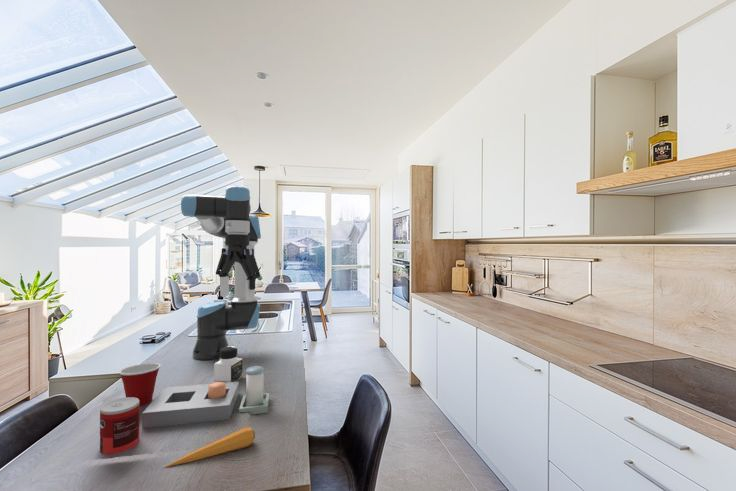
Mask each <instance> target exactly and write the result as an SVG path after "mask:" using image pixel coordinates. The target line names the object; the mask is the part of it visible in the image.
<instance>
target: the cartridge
mask: <svg viewBox="0 0 736 491" xmlns="http://www.w3.org/2000/svg"><path fill="white" fill-rule="evenodd" d="M264 370H265V368H264V367H263V366H260V365H254V366H253V365H252V366H250V367H247V368H246V370H245V374H246V378H245V380H246V384H245V385H246V389H245V391H246V392H245V393H246V394H245V395H246V400H245V407H250V406H261V405H263V393H264Z"/></svg>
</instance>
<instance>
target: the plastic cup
mask: <svg viewBox="0 0 736 491" xmlns="http://www.w3.org/2000/svg"><path fill="white" fill-rule="evenodd" d="M160 369H161V364H160V363H157V362H155V363H154V362H151V363H140V364H135V365H132V366H131V365H130V366H126V367H124V368H121V369H120V370H119V371H118V374H119V375H120V377H121V381H122V383H123V389H124V395H125V398H126V397H134V398H138V399H139V402H140V407H144V406H146V405H148V404H151V403H152V402H153V396H154V393H155V386H156V381H157V378H158V377H157V376H158V373H159V371H160Z"/></svg>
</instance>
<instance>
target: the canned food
mask: <svg viewBox="0 0 736 491" xmlns="http://www.w3.org/2000/svg"><path fill="white" fill-rule="evenodd" d="M140 409H141V406H140V402H139V399H138V398H134V397H126V396H125V397H121V398H117V399H113V400H110V401H108V402H106V403H104V404H103V405H102V406H101V407H100V410H99V452H100V453H101V454H104V455H115V454H121V453H123V452H126V451H128V450H130V449H132V448H133V447H135V446H136V445H138V443H139V442H140V422H141V421H140V419H141V418H140V416H141V415H140V414H141V413H140V411H141V410H140ZM108 458H111V456H109V457H108Z"/></svg>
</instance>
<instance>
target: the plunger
mask: <svg viewBox="0 0 736 491" xmlns="http://www.w3.org/2000/svg"><path fill="white" fill-rule="evenodd" d="M226 383H227V382H226V381H214V382H213V383H209V384H210V385H209V386H208V399H215V398H226Z"/></svg>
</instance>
